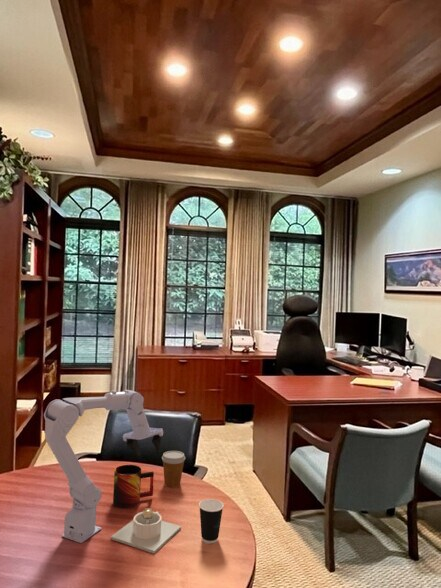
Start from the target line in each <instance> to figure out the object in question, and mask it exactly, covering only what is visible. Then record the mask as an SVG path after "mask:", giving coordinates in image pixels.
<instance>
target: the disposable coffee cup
mask: <svg viewBox="0 0 441 588" xmlns="http://www.w3.org/2000/svg"><path fill="white" fill-rule="evenodd" d="M161 459H162V468H163V480H164V486H166V487H167V488H178V487H179V486H180V485H181V481H182V474H183V469H184V463H185V460H186V456H185V453H184V452H182V451H179V450H168V451H165V452H163V454H162V456H161Z"/></svg>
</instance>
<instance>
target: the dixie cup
mask: <svg viewBox="0 0 441 588" xmlns="http://www.w3.org/2000/svg"><path fill="white" fill-rule="evenodd" d="M224 506H225V505H224V503H223V502H222V501H220V500H218V499H215V498H207V499H203V500H201V501H199V504H198V507H199V517H200V534H201V535H200V536H201V539H202V540H201V541H202V542H203V543H205V544H210V545H211V544H212V545H213V544H215V543H216V542H218V538H219V534H220V529H221V522H222V521H221V520H222V516H223V510H224Z"/></svg>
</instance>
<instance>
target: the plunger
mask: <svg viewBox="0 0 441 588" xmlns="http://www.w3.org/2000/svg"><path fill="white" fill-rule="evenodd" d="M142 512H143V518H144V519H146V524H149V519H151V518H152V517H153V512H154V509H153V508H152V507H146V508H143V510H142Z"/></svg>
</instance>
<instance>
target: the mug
mask: <svg viewBox="0 0 441 588" xmlns="http://www.w3.org/2000/svg"><path fill="white" fill-rule="evenodd" d="M154 474H155V472H154V471H147V472H142V468H141V466H138V465H135V464H124V465H119V466H116V467H115V468H114V475H113V478H114V479H113V493H112V494H113V498H112V505H113V506H114V507H115V508H117V509H123V510H125V509H127V510H128V509H133V508H135V507H138V506H139V504H140V502H141V499H142V498H146V497H153V496H154ZM147 478H150V482H149V491H148V490H147V491H142V492H141V486H142V485H141V484H142V479H147Z"/></svg>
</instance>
